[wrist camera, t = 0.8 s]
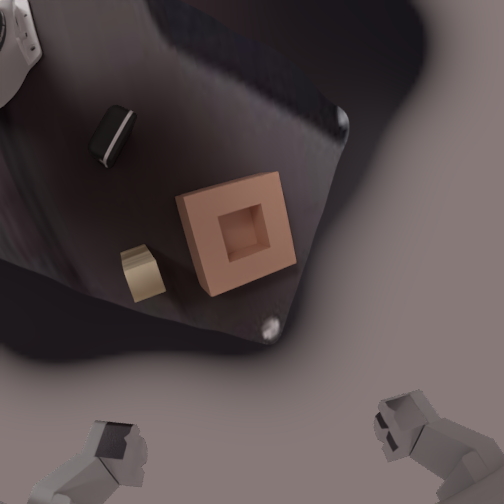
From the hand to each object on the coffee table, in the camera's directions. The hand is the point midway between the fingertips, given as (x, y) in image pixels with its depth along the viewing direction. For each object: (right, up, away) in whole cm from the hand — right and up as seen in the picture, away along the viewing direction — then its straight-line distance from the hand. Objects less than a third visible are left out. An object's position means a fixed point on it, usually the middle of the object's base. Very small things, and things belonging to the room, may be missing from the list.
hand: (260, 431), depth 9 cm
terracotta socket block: (-4, +10, +42) cm, 44 cm away
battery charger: (-21, +22, +32) cm, 44 cm away
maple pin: (-18, +5, +37) cm, 41 cm away
